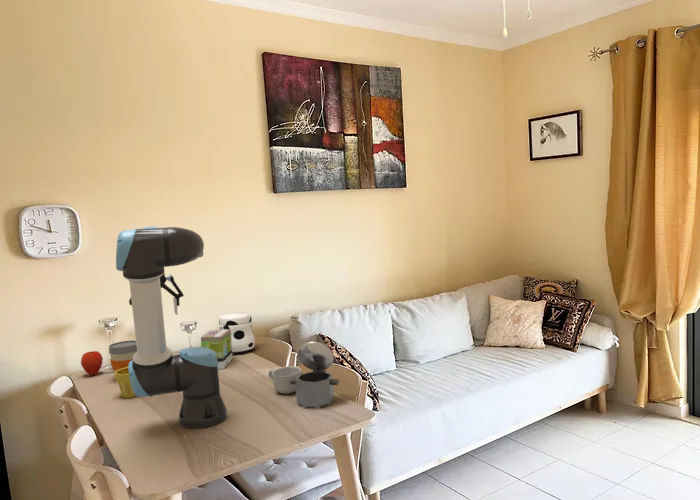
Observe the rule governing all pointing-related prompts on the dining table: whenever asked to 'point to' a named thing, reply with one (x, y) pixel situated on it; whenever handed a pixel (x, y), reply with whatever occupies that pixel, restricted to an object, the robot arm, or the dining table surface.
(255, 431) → the dining table surface
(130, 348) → the reusable coffee cup
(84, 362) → the apple
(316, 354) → the lid
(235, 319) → the milk container
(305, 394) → the cooker
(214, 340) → the tea box
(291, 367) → the teacup
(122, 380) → the plant pot
